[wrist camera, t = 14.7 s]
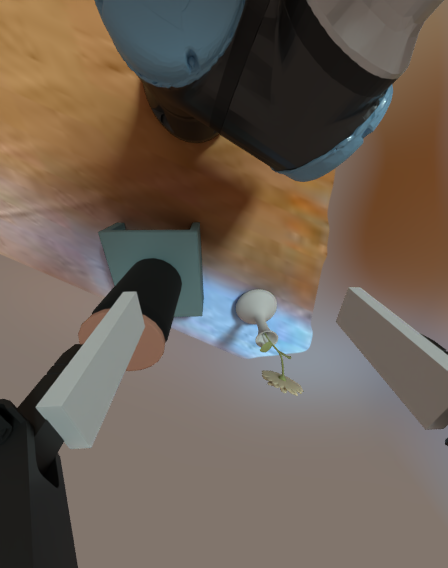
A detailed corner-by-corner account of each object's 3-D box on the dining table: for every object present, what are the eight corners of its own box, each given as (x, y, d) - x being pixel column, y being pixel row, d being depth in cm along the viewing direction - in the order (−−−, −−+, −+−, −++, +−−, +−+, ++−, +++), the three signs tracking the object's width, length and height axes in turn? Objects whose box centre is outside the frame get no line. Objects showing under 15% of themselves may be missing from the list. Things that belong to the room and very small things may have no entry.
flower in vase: (226, 304, 55) (235, 390, 33) (257, 278, 51) (290, 355, 29) (256, 328, 60) (281, 416, 38) (286, 306, 56) (333, 389, 34)
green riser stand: (116, 222, 43) (98, 232, 36) (199, 222, 43) (197, 231, 36) (136, 298, 52) (124, 318, 45) (203, 297, 53) (202, 316, 46)
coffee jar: (119, 272, 40) (58, 336, 24) (160, 245, 37) (122, 297, 22) (154, 308, 44) (122, 380, 29) (192, 286, 42) (181, 352, 26)
